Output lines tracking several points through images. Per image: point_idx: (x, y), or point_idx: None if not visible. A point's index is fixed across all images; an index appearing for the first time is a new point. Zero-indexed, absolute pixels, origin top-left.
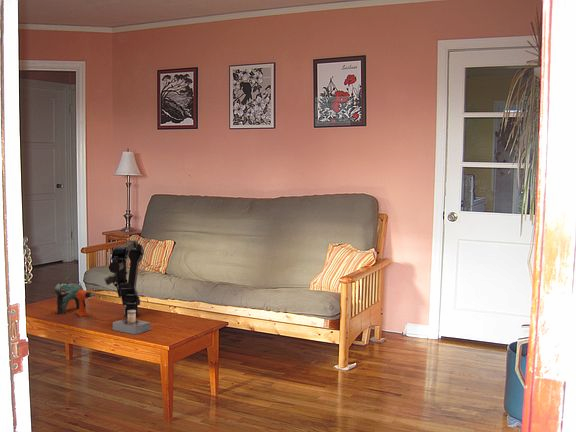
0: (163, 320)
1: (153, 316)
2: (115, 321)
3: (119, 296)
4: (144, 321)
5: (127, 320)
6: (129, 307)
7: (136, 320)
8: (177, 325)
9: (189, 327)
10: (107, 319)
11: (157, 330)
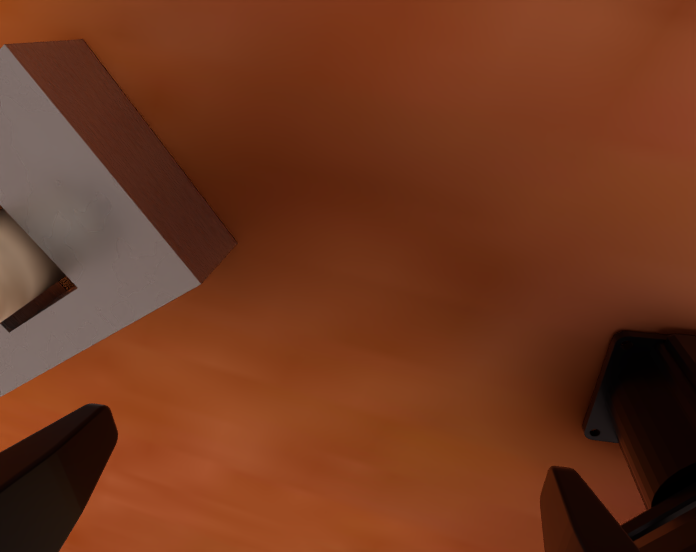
0: (316, 511)
1: (488, 509)
2: (44, 95)
3: (549, 492)
4: (25, 375)
5: (82, 249)
6: (669, 446)
7: (71, 329)
8: (148, 519)
9: (88, 542)
10: (682, 81)
11: (32, 390)
